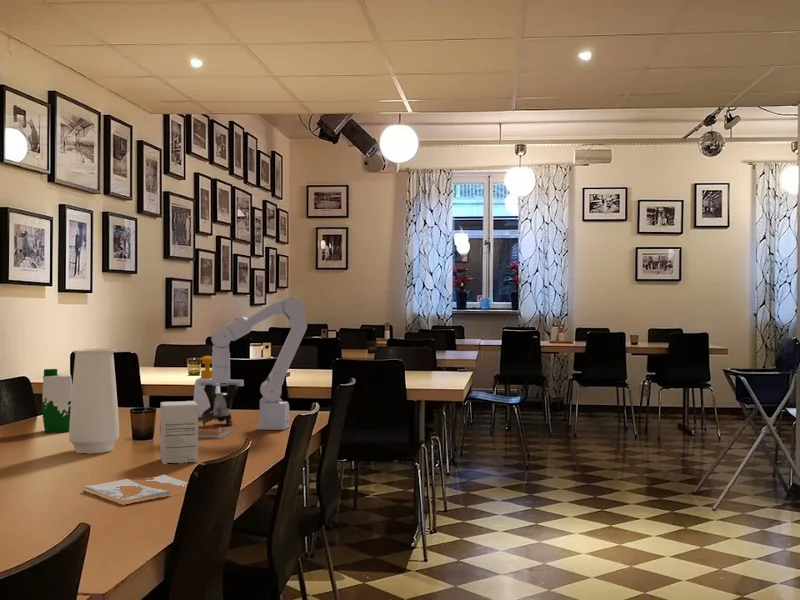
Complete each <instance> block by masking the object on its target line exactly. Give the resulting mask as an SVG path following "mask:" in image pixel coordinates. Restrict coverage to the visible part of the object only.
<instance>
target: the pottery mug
mask: <svg viewBox="0 0 800 600" xmlns="http://www.w3.org/2000/svg"><path fill="white" fill-rule="evenodd" d="M212 411H213V409H211V407H209V408H208V409H206V410H205V411H204V412H203V414H202V415H201V416H202V417H203V418H202V426H204V425H207V424H206V423H209V422H212V421H218V422H222V423H223V422H224V421H225V424H226V425H229V424H230V426H231V427H232V426H234V422H233V418H232V415H231V412H229V416H213V412H212ZM210 412H211V413H210Z"/></svg>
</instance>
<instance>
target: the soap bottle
mask: <svg viewBox="0 0 800 600" xmlns="http://www.w3.org/2000/svg"><path fill="white" fill-rule="evenodd" d="M199 360H200V361H201V363H202V364H204V369H203V370H200V377H198V378H197V379H196V380H195V381H194V391H193V401H194V402H196V404H197V405H198V419H203V417H202V416H201V415H202V414H203V412H204V411H205V410H206V409H208V408H209V407H210V403H209V399H208V397H207V395H206V393H205V391H204V388H205V386H199V385H198V380H212V369H210V364H211V365H212V355H204V356H202V357H201V358H199ZM216 384H221V383H216ZM215 393H221V386H216V390H215ZM212 412H213V411H212ZM210 413H211V412H210Z"/></svg>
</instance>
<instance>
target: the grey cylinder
mask: <svg viewBox="0 0 800 600" xmlns="http://www.w3.org/2000/svg"><path fill="white" fill-rule="evenodd" d="M229 413H230V409H228V396H227V392H220V393H214V394H213V416H229Z"/></svg>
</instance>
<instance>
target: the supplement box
mask: <svg viewBox="0 0 800 600" xmlns="http://www.w3.org/2000/svg"><path fill="white" fill-rule="evenodd" d="M159 407H160V408H159V409H160V410H159V412H160V413H159V414H160V416H159V417H160V419H159V422H160V424H159V425H160V426H159V427H160V430H159V431H160V434H159V435H160V437H159V439H160V442H159V443H160V452H159V453H160V456H159V457H160V460H161V463H162V465H166V464H165V463H179V464H188V463H187V462H194V463H198V462H199V438H198V426H199V418H198V405H197V404H196V402H194V400H185V401H183V400H182V401H181V400H180V401H160V406H159ZM184 462H185V463H184Z"/></svg>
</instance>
